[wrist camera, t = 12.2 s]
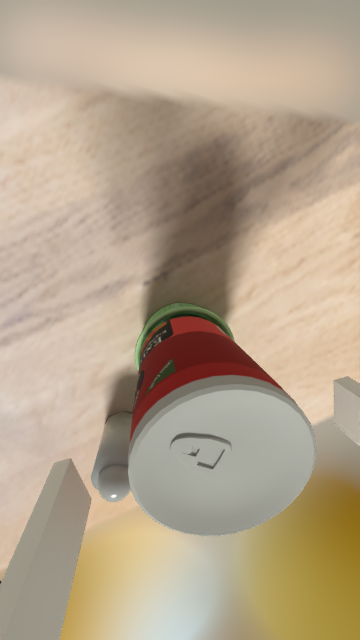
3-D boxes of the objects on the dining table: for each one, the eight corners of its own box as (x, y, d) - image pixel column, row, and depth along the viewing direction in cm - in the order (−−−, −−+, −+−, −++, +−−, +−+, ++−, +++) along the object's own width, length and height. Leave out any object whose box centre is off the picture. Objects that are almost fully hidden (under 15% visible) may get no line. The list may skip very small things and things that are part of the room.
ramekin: (235, 316, 24) (253, 330, 20) (199, 386, 26) (208, 411, 22) (158, 282, 22) (160, 289, 18) (124, 360, 24) (119, 383, 20)
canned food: (147, 306, 18) (141, 371, 7) (240, 321, 19) (347, 395, 9) (134, 390, 20) (113, 540, 9) (219, 399, 21) (288, 539, 10)
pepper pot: (111, 447, 27) (96, 522, 19) (99, 418, 25) (77, 487, 18) (147, 437, 27) (146, 507, 19) (137, 407, 25) (131, 471, 18)
